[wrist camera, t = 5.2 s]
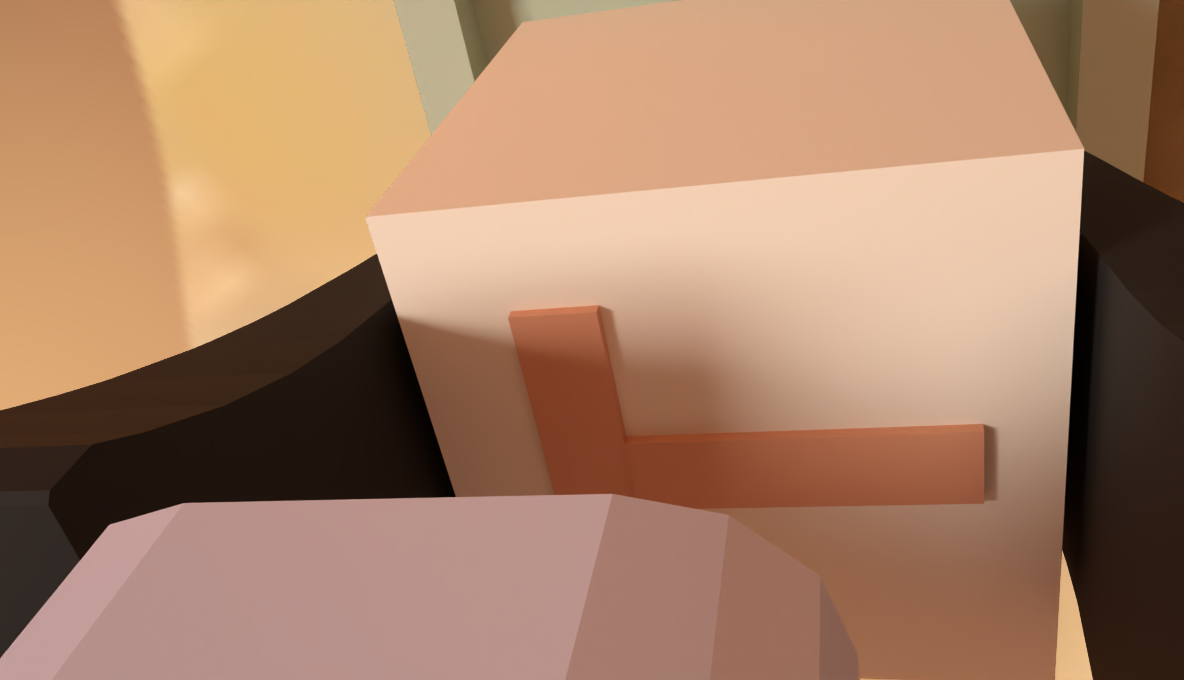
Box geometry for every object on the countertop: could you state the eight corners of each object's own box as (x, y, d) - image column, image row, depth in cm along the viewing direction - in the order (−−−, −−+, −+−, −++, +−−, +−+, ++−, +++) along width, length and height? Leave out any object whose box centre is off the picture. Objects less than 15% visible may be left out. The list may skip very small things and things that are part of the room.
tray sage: (1106, 376, 16) (1122, 417, 15) (530, 403, 18) (515, 439, 17) (1161, -327, 11) (1188, -324, 10) (377, -173, 13) (348, -161, 13)
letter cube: (986, 363, 13) (1057, 692, 9) (601, 382, 15) (510, 678, 10) (988, -43, 11) (1088, 154, 7) (522, 21, 12) (359, 223, 8)
